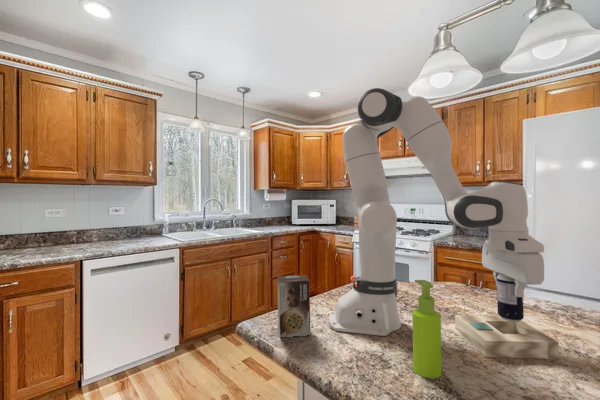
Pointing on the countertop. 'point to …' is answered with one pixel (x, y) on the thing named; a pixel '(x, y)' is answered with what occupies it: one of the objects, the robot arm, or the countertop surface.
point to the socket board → (506, 337)
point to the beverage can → (508, 300)
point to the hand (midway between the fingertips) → (509, 291)
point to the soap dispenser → (426, 335)
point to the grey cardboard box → (293, 306)
